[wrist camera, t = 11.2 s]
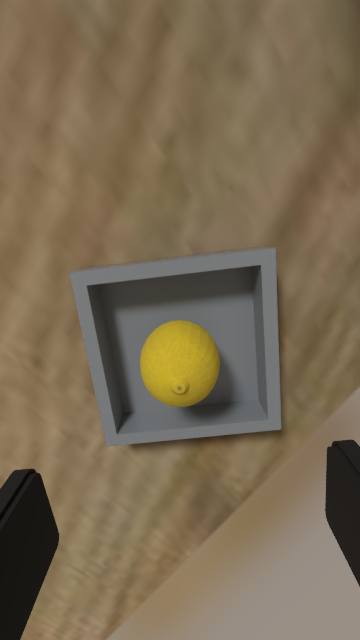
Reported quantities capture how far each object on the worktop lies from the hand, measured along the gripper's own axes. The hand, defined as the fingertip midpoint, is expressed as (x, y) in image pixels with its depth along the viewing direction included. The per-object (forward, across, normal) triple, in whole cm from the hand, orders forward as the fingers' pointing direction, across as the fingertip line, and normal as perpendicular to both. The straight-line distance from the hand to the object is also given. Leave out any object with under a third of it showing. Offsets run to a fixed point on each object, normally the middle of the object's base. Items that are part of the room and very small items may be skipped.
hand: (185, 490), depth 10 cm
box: (+16, 0, +1) cm, 16 cm away
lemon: (+16, 0, +1) cm, 16 cm away
